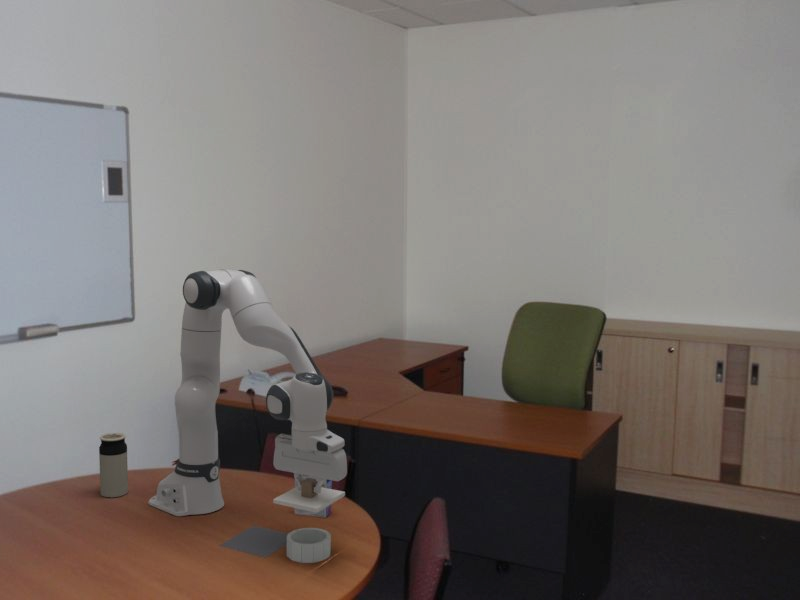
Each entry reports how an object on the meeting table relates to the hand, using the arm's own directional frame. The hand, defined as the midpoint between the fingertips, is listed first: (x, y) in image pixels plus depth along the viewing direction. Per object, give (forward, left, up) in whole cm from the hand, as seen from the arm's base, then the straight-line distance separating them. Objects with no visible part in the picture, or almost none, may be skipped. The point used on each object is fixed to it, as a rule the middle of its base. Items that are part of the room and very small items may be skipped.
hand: (309, 491), depth 210 cm
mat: (-16, 0, -17) cm, 23 cm away
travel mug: (-76, +7, -17) cm, 78 cm away
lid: (0, 0, -2) cm, 2 cm away
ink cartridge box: (-15, +24, -17) cm, 33 cm away
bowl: (0, 0, -17) cm, 17 cm away
